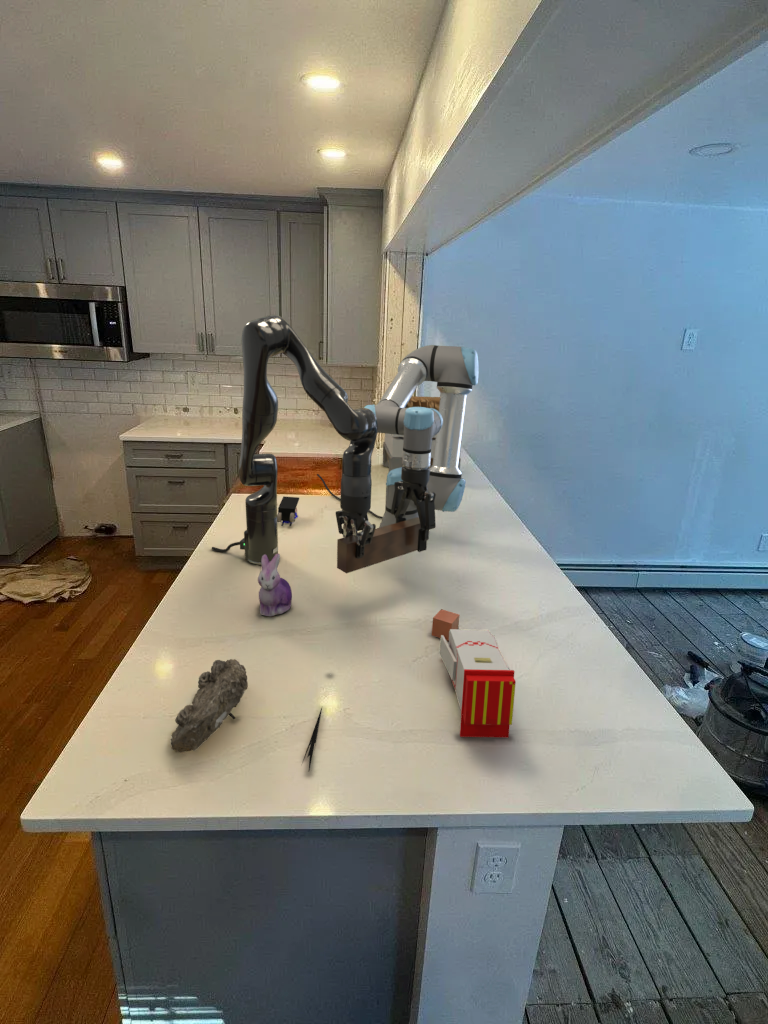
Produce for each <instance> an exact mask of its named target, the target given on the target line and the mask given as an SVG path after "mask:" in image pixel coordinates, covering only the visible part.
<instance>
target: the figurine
mask: <svg viewBox="0 0 768 1024" xmlns="http://www.w3.org/2000/svg"><path fill="white" fill-rule="evenodd" d="M280 560H281V555H280V553H278V554H276V555H275V556H274V557H273V559H272V560H271V561H269V559H268V557H267V555H263V556H262V560H261V564H262V565H261V571H260V572H259V575H258V577H257V583H258V585H259V586H260V588H259V591H258V600H259V604H260V605H259V614H260V615H262V616H265V617H274V616H276V615H281V614H284V613H285V612H287V611H288V610H290V609H291V607H292V599H293V593H292V588H291V585H290V583H289V581H287V579H285V578H284V577H281V576H280V573H279V571H278V567H279V564H280Z"/></svg>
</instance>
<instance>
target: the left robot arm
mask: <svg viewBox="0 0 768 1024" xmlns="http://www.w3.org/2000/svg"><path fill="white" fill-rule="evenodd" d="M241 353H242V366H243V395H242V408H241V409H242V410H241V411H242V412H241V416H242V417H241V427H242V429H241V443H240V452H239V461H238V478H239V481H240V483H241V484H242V485H243V486H245V487H258V486H262V487H261V488H260V489H259V490H257V491H255V492H252V493H251V494H248V496H246V498H245V501H244V503H245V522H246V525H245V526H246V530H244V532H243V538H242V539H240V540H239V541H235V542H232V543H230V544H229V545H228V546H227V547H226V548H218V547H216V546H212V547H211V550H212V551H215V552H217V553H227V552H229V551H230V550H231V548H233V547H236V546H239V550H244V560H245V562H246V561H247V562H249V563H250V564H253V565H257V566H258V565H261V566H262V564H261V560H262V556H263V555H267V557H268V559H269V561H271V560H272V559H273V557H274V556H275V555H276V554H279V536H278V535H279V532H278V529H279V528H278V522H277V514H278V471H279V469H278V461H277V458H276V456H275V454H273V453H256V451H257V449H258V448H259V446H260V445H261V444H262V443H263V441H264V440H266V438H267V437H268V436H269V434H271V432H272V431H273V430H274V428H275V426H276V425H277V421H278V413H279V412H278V411H279V399H278V395H277V393H276V392H275V389H274V388H273V386H272V385H271V383H270V382H269V380H268V363H269V359H270V358H272V357H275V356H277V355H280V354H283V355H284V356H286V357H287V358H288V359H289V360H290V361H291V362H292V363H293V364H294V366H295V368H296V370H297V373H298V376H299V380H300V383H301V384H300V385H301V386H302V388H303V390H304V392H305V394H306V395H307V396H308V398H310V400H312V401H313V403H315V405H317V406H318V407H319V408H320V409H321V410H322V411H323V412H324V413H325V415H326V417H327V419H328V420H329V422H330V424H331V425H332V427H333V428H334V430H335V432H336V433H337V434H338V435H339V436H340V437H342V438H343V439H344V440H346V441H349V445H348V447H347V448H346V449H344V451H343V453H342V459H341V462H342V463H341V479H340V499H341V501H340V500H339V501H340V504H339V505H340V506H339V507H340V509H341V510H335V519H336V524H337V525H336V526H337V530H338V534H339V535H342V538H344V537H348V536H351V535H354V536H355V539H356V544H357V545H356V555H355V557H356V558H357V559H359V558H362V557H363V556H364V552H365V545H366V544H370V543H371V541H372V538H373V535H374V532H375V529H377V525H376V524H375V523H371V522H370V521H369V516H368V513H369V512H368V511H369V510H370V511H371V509H372V508H371V507H372V486H373V485H372V455H373V452H374V449H375V444H376V441H377V437H378V433H377V431H378V423H377V418H376V416H375V414H374V413H373V412H372V411H371V410H370V409H368V408H364V407H359V408H355V409H353V408H352V407H351V405H349V403H348V401H349V395H348V393H347V392H346V391H345V389H343V387H342V386H340V384H339V383H337V382H336V381H335V379H333V378H332V377H331V376H330V375H329V373H328V372H326V370H324V368H322V366H321V365H320V364H319V362H318V361H317V360H316V359H315V357H314V356H313V354H312V353H311V352H310V350H309V349H308V347H307V346H306V345H305V343H304V342H303V341H302V339H301V338H300V336H299V335H298V334H297V333H296V331H295V330H294V329H293V327H292V326H291V325H290V323H288V321H286V319H285V318H283V317H282V316H281V315H278V314H269V315H264V316H262V317H259V318H256V319H255V318H254V319H252V320H250V321H248V322H247V323H245V324H244V326H243V328H242V333H241ZM360 536H362V539H361V540H360Z"/></svg>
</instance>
